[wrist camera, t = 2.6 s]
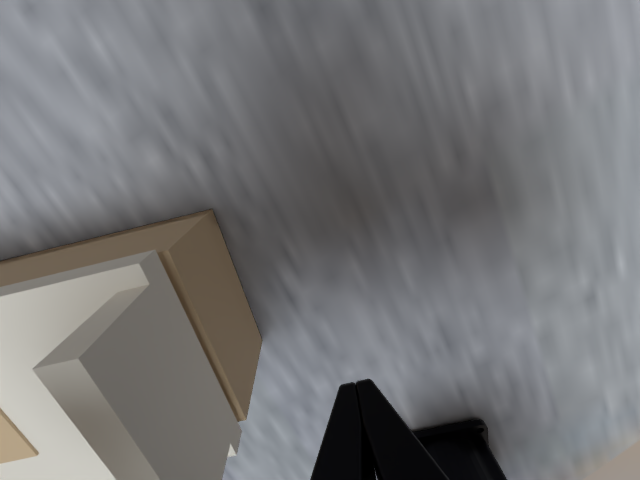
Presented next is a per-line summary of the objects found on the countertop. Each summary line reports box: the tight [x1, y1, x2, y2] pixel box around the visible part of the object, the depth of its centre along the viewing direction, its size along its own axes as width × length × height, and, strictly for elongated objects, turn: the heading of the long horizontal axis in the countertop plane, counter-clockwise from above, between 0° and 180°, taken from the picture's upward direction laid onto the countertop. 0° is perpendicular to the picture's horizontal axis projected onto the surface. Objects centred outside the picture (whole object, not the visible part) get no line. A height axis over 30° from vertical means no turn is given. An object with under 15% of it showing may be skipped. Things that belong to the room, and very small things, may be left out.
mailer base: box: [0, 209, 262, 422], centre depth 14 cm, size 16×8×5 cm, turn 103°
